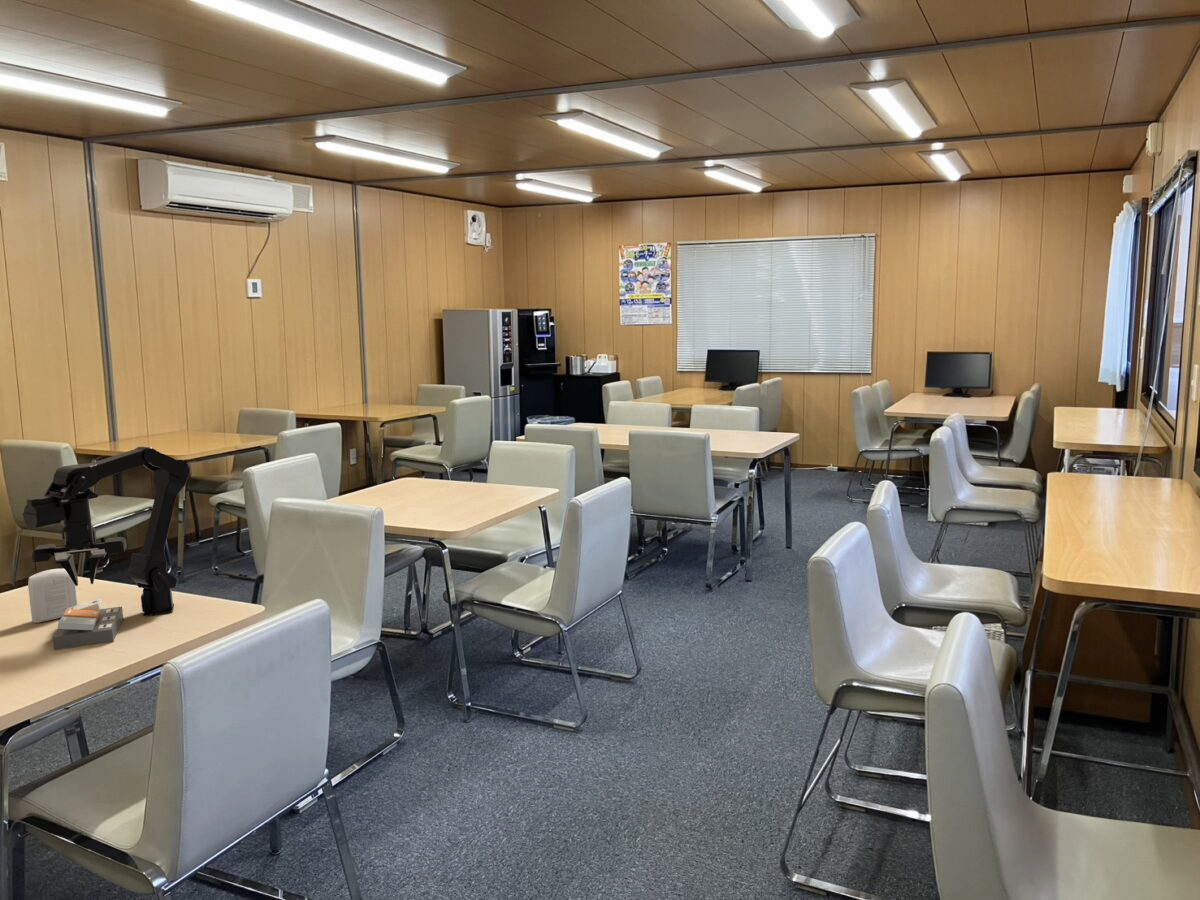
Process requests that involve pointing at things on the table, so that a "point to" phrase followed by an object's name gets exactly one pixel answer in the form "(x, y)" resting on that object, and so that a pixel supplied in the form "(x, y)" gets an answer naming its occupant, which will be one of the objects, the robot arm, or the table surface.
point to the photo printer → (51, 594)
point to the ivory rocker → (89, 605)
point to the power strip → (91, 631)
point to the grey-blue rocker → (77, 623)
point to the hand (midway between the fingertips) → (84, 584)
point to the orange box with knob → (82, 613)
